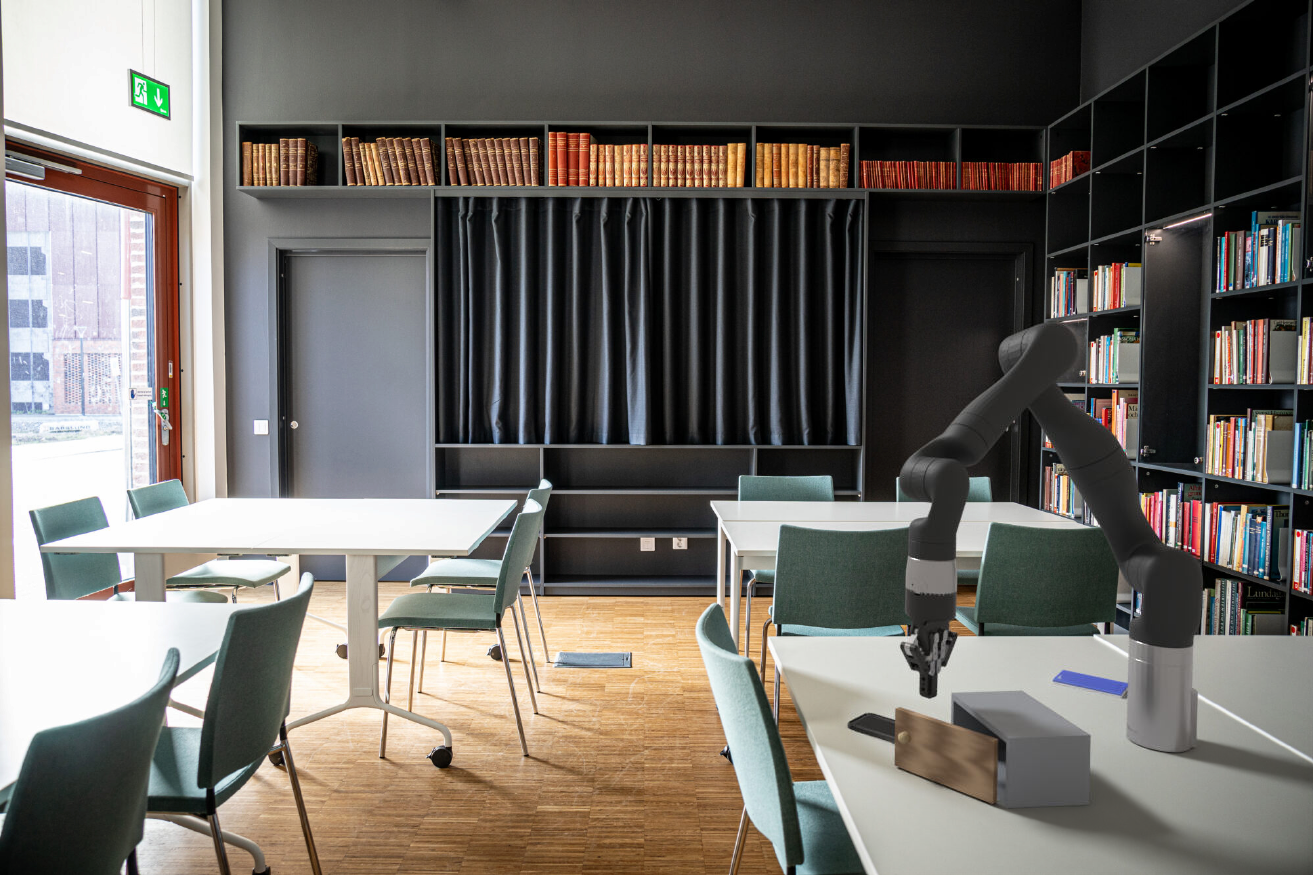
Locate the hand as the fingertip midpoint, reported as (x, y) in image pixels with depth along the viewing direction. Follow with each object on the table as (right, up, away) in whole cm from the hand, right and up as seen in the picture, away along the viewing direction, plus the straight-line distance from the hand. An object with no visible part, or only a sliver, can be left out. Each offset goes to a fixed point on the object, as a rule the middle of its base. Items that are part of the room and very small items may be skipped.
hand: (928, 696), depth 126 cm
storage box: (+12, -12, -3) cm, 17 cm away
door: (0, -11, -5) cm, 12 cm away
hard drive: (+46, -11, +38) cm, 60 cm away
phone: (-1, -11, +14) cm, 18 cm away
